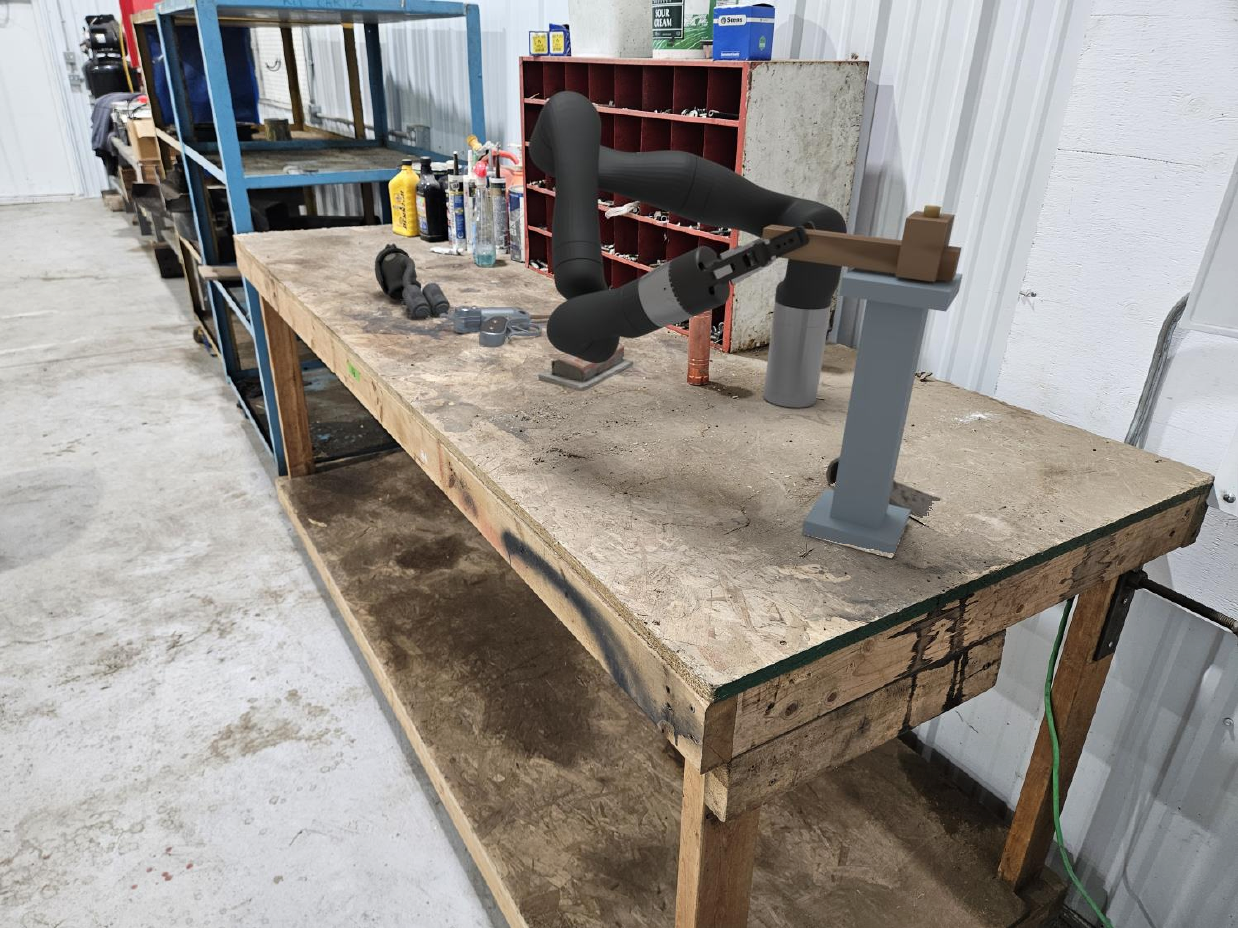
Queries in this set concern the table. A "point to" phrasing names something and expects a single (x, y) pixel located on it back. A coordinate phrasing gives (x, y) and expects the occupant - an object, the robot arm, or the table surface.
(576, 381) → the packaged product
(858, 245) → the marking gauge
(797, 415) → the table surface
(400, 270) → the gas mask
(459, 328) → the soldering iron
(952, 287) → the stand
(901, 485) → the axe head
